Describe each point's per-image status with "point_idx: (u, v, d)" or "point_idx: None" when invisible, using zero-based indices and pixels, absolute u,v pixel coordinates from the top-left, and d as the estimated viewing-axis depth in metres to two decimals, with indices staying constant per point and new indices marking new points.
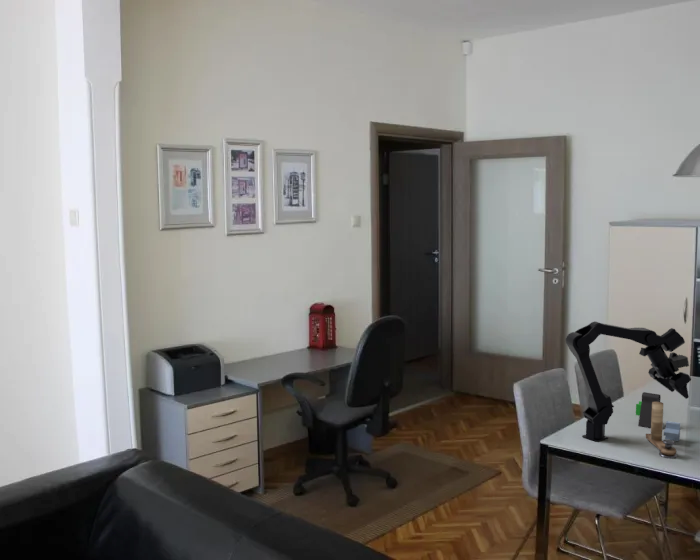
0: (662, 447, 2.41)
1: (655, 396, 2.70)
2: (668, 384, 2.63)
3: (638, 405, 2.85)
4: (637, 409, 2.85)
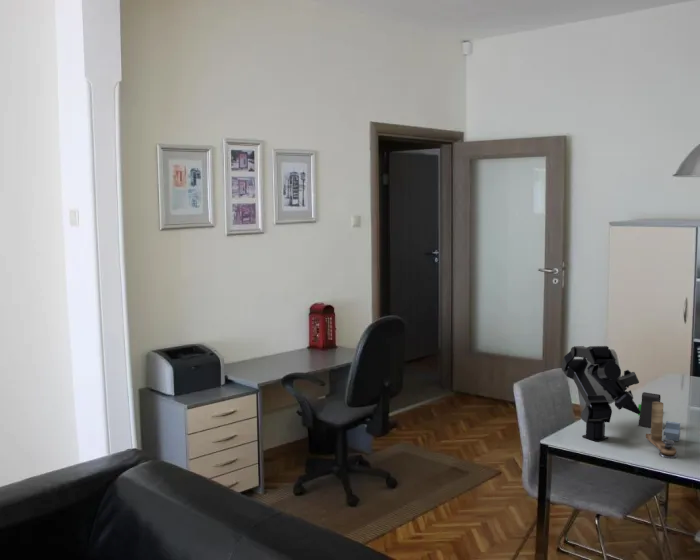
0: (662, 447, 2.41)
1: (655, 396, 2.70)
2: None
3: (640, 405, 2.84)
4: (639, 409, 2.85)
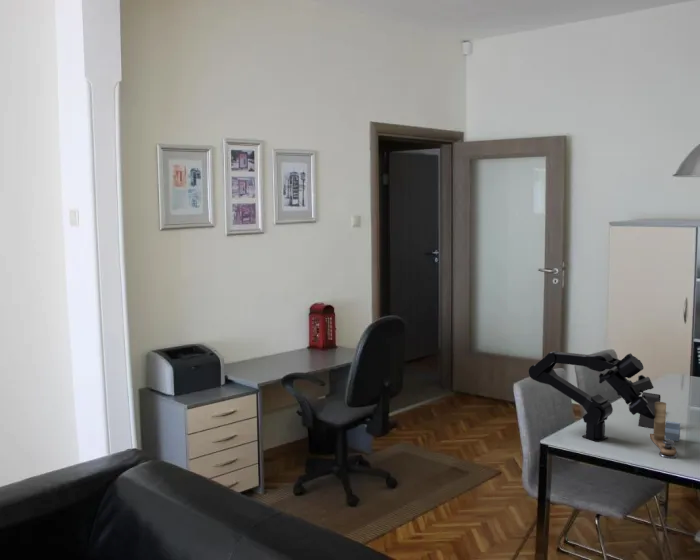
0: (663, 447, 2.41)
1: (655, 396, 2.70)
2: None
3: None
4: None
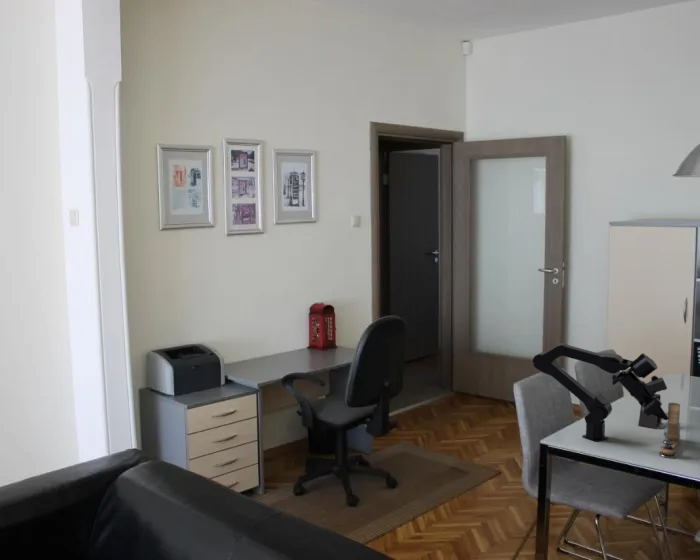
0: (664, 446, 2.42)
1: (655, 396, 2.70)
2: None
3: None
4: None
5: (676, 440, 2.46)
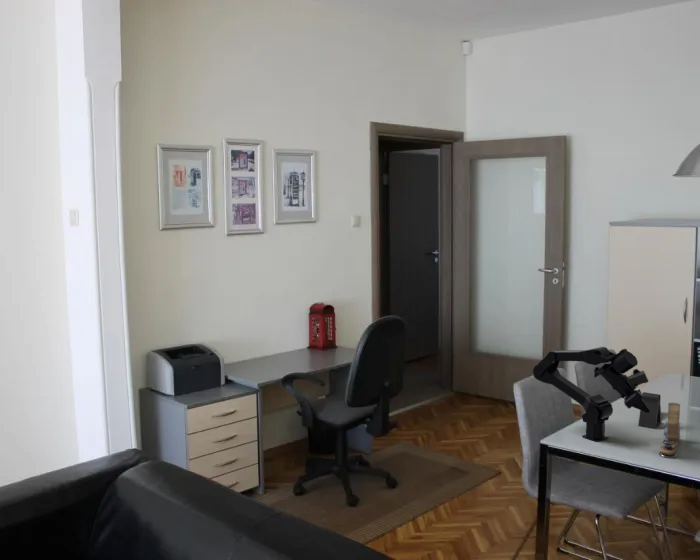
0: (664, 446, 2.42)
1: (655, 396, 2.70)
2: None
3: None
4: None
5: (676, 440, 2.46)
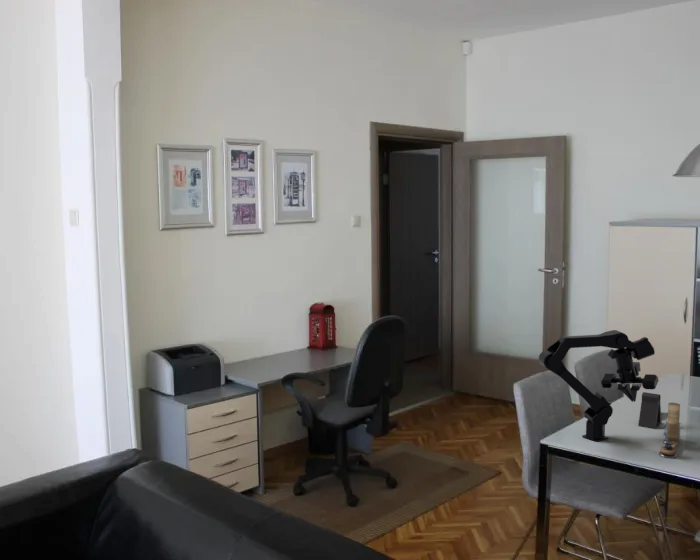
0: (664, 446, 2.42)
1: (655, 396, 2.70)
2: (630, 393, 2.60)
3: None
4: None
5: (676, 440, 2.46)
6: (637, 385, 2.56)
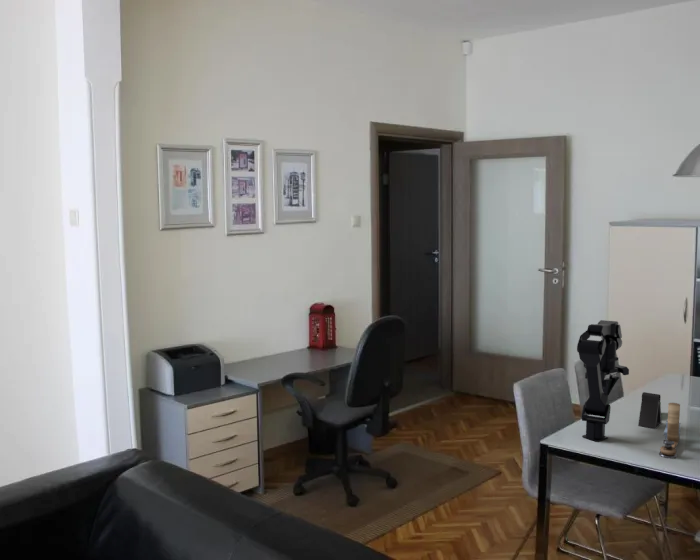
0: (664, 446, 2.42)
1: (655, 396, 2.70)
2: None
3: None
4: None
5: (676, 440, 2.46)
6: (615, 374, 2.69)
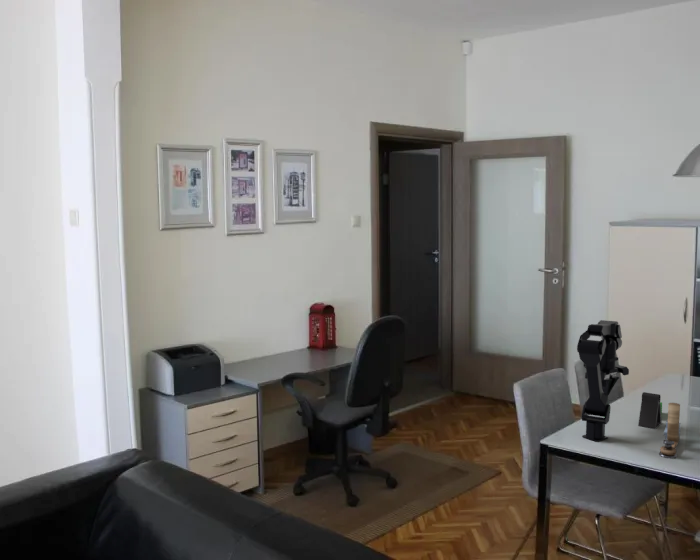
0: (664, 446, 2.42)
1: (655, 396, 2.70)
2: None
3: None
4: None
5: (676, 440, 2.46)
6: (615, 374, 2.69)
